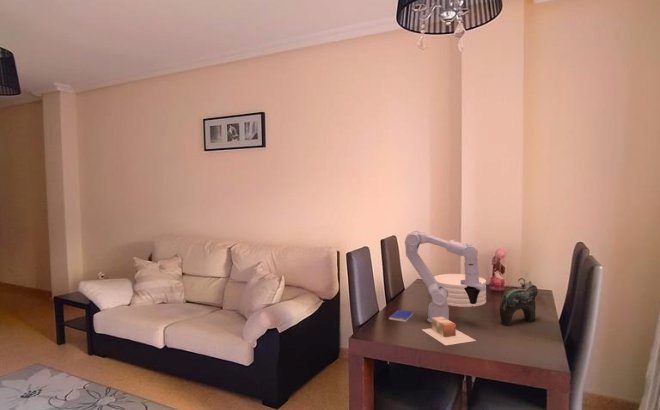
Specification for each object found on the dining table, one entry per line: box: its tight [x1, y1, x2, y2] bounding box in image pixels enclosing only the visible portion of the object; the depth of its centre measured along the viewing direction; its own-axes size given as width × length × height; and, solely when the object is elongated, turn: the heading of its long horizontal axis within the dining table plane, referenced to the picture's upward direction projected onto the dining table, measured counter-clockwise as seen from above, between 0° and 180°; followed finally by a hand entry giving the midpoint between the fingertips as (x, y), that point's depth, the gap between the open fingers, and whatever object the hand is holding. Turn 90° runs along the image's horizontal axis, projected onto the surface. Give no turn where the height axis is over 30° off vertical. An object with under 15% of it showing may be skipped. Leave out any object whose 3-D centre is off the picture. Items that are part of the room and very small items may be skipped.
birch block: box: [431, 316, 457, 337], centre depth 159 cm, size 5×5×10 cm
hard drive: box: [388, 309, 414, 322], centre depth 183 cm, size 2×8×12 cm
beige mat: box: [422, 327, 477, 346], centre depth 157 cm, size 18×14×1 cm
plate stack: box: [433, 273, 487, 308], centre depth 210 cm, size 28×28×12 cm
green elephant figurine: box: [499, 277, 538, 327], centre depth 171 cm, size 20×6×20 cm, turn 111°
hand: (473, 303), depth 166 cm, fingers closed
